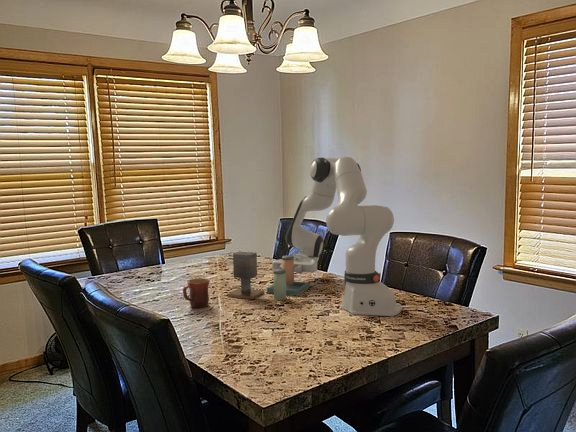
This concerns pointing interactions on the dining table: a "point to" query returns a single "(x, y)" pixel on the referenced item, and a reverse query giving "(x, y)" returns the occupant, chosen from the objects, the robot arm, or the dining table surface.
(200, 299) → the mug
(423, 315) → the dining table surface
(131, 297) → the dining table surface
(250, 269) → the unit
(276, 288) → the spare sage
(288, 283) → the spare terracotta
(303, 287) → the tray
